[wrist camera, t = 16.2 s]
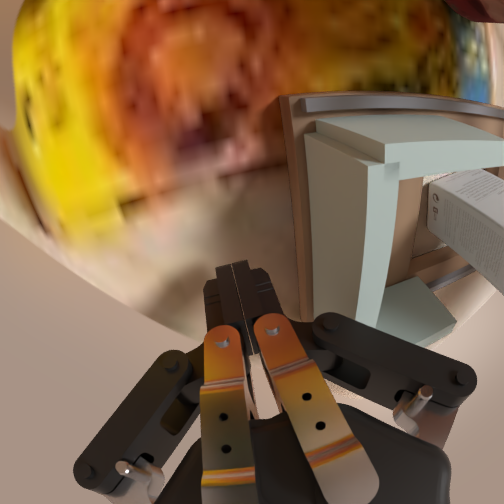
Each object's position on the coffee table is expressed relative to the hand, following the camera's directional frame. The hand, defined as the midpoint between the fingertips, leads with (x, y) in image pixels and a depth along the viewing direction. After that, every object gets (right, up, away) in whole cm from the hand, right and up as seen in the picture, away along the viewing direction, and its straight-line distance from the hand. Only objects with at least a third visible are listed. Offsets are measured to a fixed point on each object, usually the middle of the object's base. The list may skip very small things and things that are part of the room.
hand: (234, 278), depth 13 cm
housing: (+8, +3, +2) cm, 9 cm away
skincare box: (+16, +6, +4) cm, 17 cm away
